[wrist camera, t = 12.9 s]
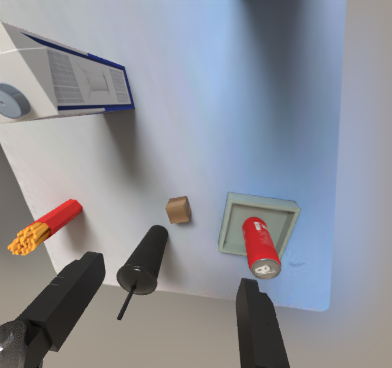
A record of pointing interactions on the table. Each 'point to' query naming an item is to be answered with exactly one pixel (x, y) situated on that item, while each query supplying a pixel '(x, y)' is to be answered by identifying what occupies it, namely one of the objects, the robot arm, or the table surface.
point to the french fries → (44, 227)
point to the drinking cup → (143, 265)
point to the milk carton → (55, 79)
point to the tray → (262, 208)
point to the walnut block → (178, 210)
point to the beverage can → (260, 249)
